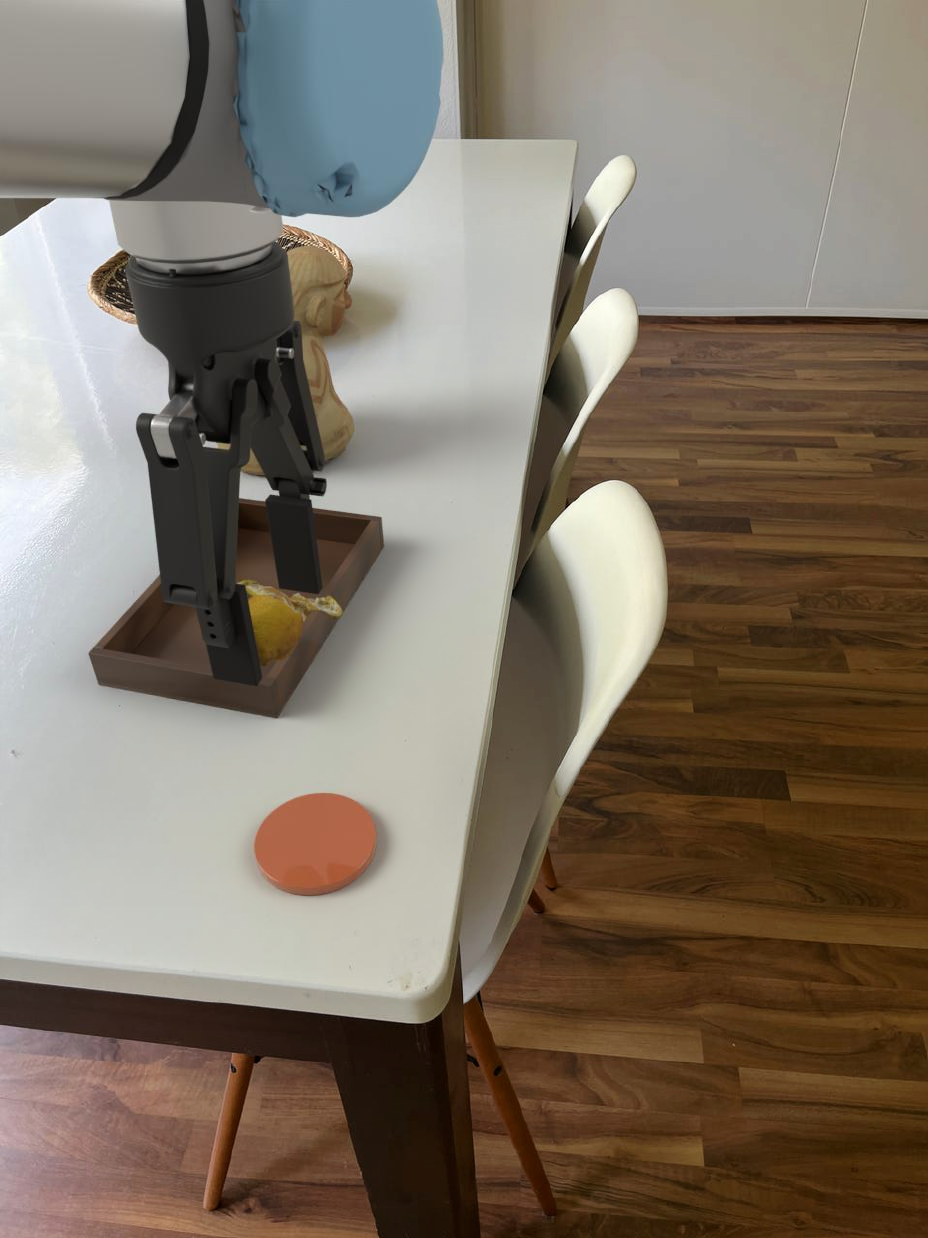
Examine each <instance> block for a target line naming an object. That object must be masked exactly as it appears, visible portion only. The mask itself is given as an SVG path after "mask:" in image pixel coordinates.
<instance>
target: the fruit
mask: <svg viewBox="0 0 928 1238" xmlns="http://www.w3.org/2000/svg"><path fill="white" fill-rule="evenodd" d="M236 584H243V585H245V586H246V592H247V597H248V602H249V608H250V613H251V619H252V624H253V629H254V635H255V640H256V645H257V651H258V656H259V661H260V665H261V666H266V665H267V664H269V663H270V662H271V661H273V660H278V661H279V660H282V659H284V658H286V657H287V656H290V655H291V654H290V653H291V650H292V649H293V648H294V646H295V645H296V643H297V642H298V641H299V640H300V639H301V637H302V626H303V624H302V623H303V622H304V621H305V620H306V618H307V616H308V615H309V613H310V612H311V611H312V610H323V611H325V612H327V613H328V614H329V615H331V616H332V617H333V618H334V619H335V618H339V617H340V618H341V616H342V615H343V613H342V609H341V607H340V606H339V605H338V603H337V602H336V600H334V599H333V598H332V597H331V596H327V597H325V598H324V597H323V598H316V600H314V599H306V598H304V597H303V596H301V595H300V593H297V594H294V595H293V596H292V597H291V598H289V597H288V596H287V595H286V594H284V593H283V592H281V591H279V590H277V589H275V588H273V587H270V586H262V585H260V583H258V582H257V581H251V580H243V581H242V582H238V583H236ZM340 618H339V619H340ZM202 640H203V639H202ZM206 648H207V647H206Z"/></svg>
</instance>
